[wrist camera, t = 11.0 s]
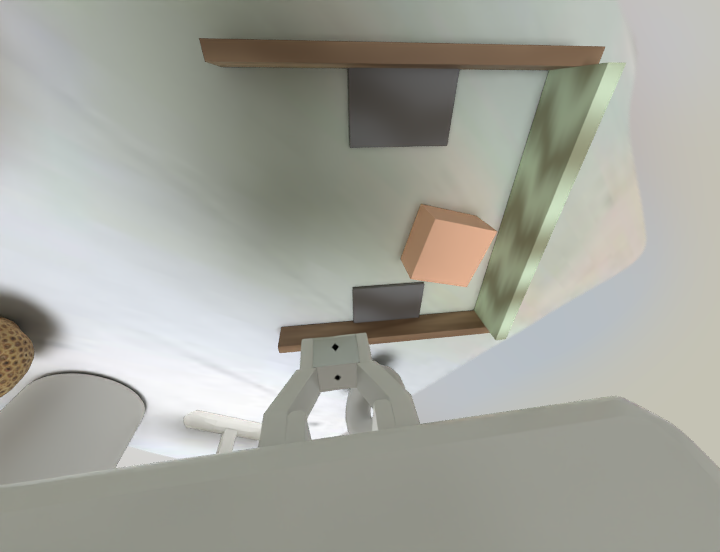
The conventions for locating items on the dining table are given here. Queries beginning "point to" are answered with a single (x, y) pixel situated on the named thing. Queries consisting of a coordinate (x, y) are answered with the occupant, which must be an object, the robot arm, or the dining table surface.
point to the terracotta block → (446, 246)
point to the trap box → (431, 128)
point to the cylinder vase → (66, 427)
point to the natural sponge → (13, 355)
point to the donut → (362, 408)
